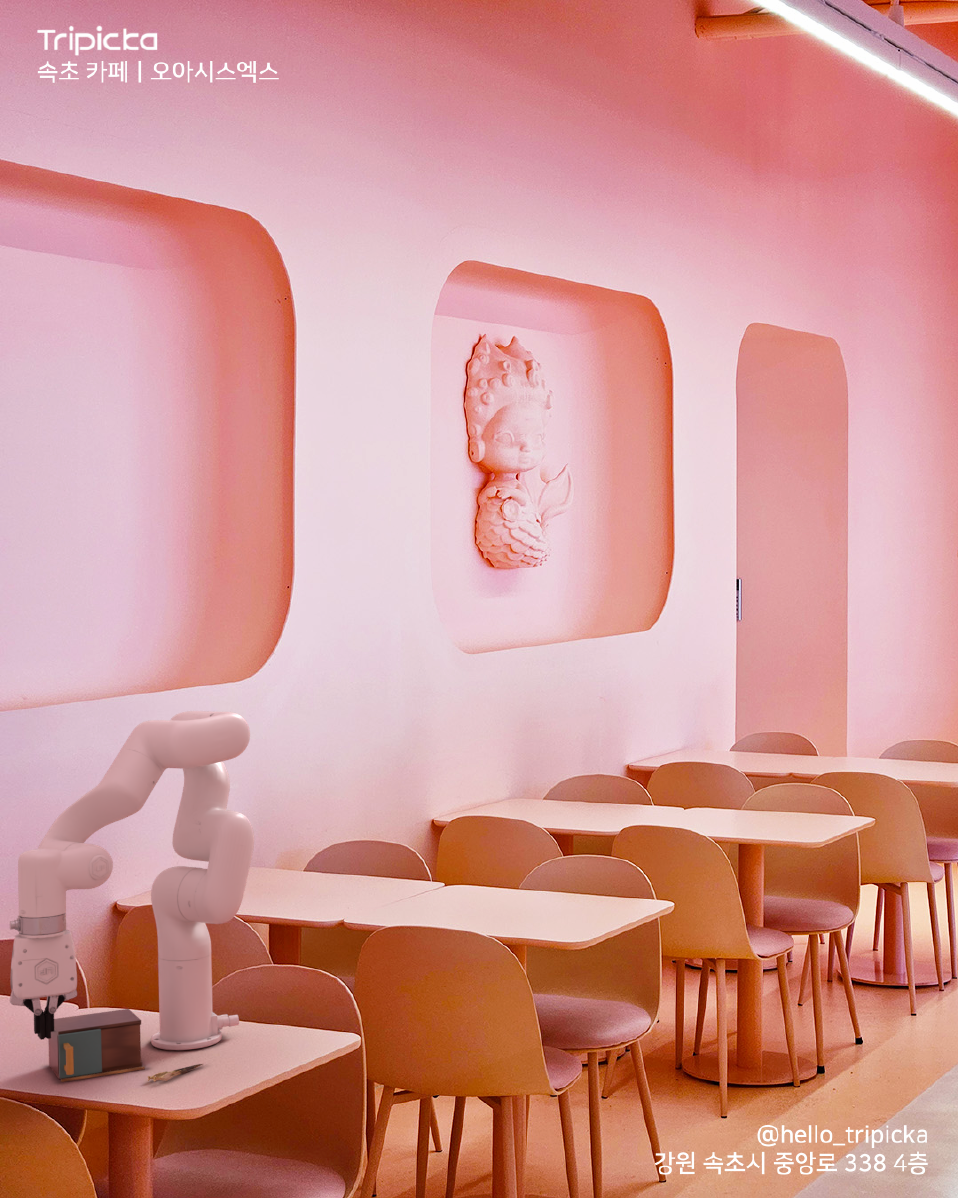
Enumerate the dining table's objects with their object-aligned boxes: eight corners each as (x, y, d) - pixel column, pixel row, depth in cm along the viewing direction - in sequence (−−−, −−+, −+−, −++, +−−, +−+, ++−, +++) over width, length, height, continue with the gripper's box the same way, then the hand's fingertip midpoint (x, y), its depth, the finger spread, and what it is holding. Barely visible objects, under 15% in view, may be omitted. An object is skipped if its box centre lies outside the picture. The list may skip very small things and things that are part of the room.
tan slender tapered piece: (200, 1066, 263) (200, 1057, 263) (210, 1068, 261) (210, 1060, 261) (145, 1083, 253) (145, 1075, 253) (155, 1086, 252) (155, 1077, 252)
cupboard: (129, 1054, 271) (128, 1008, 271) (144, 1069, 261) (143, 1022, 261) (49, 1066, 265) (48, 1019, 265) (61, 1082, 255) (60, 1034, 255)
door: (101, 1071, 259) (100, 1028, 259) (106, 1077, 255) (105, 1034, 256) (59, 1078, 256) (58, 1034, 256) (64, 1084, 252) (63, 1040, 252)
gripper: (-1, 934, 245) (1, 1049, 245) (93, 924, 252) (95, 1036, 252) (-9, 926, 252) (-7, 1038, 252) (83, 917, 259) (85, 1026, 258)
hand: (44, 1037), depth 252 cm, fingers closed
